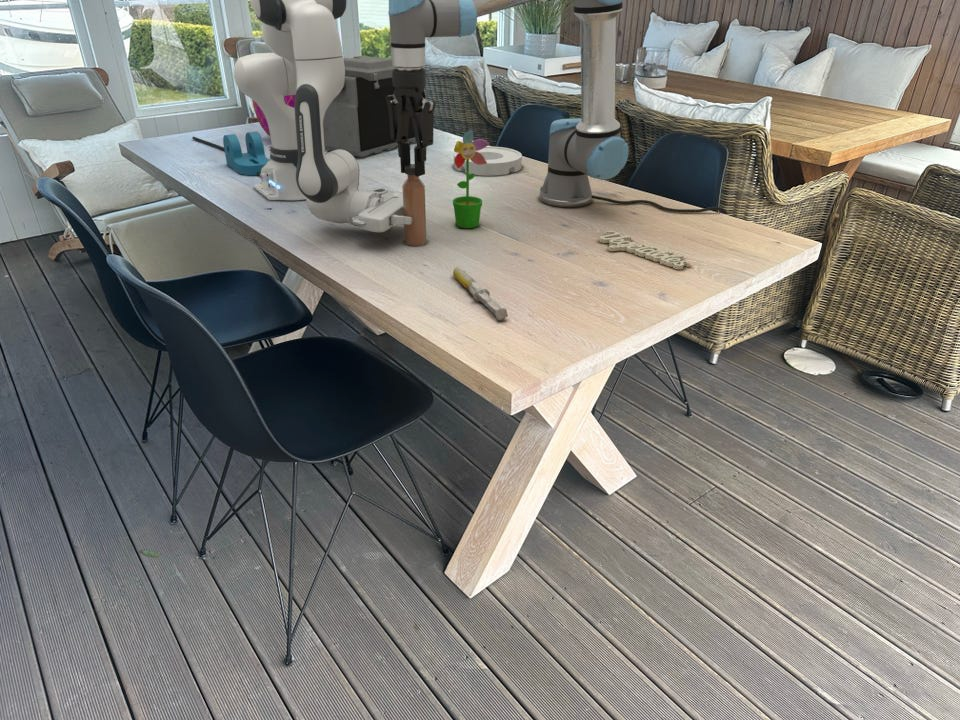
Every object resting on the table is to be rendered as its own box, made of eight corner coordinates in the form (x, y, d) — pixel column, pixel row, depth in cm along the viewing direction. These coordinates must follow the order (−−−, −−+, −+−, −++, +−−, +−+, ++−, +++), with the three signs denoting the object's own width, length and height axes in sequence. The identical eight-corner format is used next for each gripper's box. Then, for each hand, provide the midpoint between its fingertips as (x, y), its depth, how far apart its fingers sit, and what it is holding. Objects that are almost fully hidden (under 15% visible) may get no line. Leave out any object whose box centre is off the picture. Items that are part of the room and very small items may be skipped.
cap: (401, 174, 163) (401, 167, 162) (409, 170, 166) (408, 163, 165) (416, 176, 161) (416, 169, 161) (424, 171, 165) (424, 164, 164)
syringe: (449, 274, 155) (449, 263, 153) (465, 272, 156) (464, 260, 154) (490, 323, 135) (491, 310, 133) (508, 319, 136) (508, 307, 134)
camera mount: (227, 164, 233) (221, 132, 227) (257, 160, 238) (252, 129, 233) (244, 176, 220) (239, 143, 215) (276, 172, 225) (271, 139, 220)
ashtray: (455, 157, 245) (455, 145, 243) (520, 158, 244) (521, 146, 242) (451, 174, 225) (451, 162, 223) (522, 176, 224) (522, 164, 222)
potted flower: (459, 231, 179) (458, 133, 166) (446, 222, 185) (444, 126, 172) (490, 226, 182) (492, 129, 170) (477, 217, 188) (478, 123, 176)
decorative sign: (585, 238, 173) (610, 229, 179) (584, 241, 173) (610, 233, 179) (673, 269, 156) (698, 259, 162) (672, 273, 156) (697, 262, 162)
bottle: (430, 241, 173) (428, 167, 164) (417, 247, 169) (414, 172, 160) (414, 236, 176) (411, 164, 166) (400, 242, 172) (396, 169, 162)
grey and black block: (383, 133, 276) (378, 52, 261) (425, 141, 265) (422, 56, 250) (314, 150, 251) (304, 61, 235) (358, 160, 240) (350, 67, 224)
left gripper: (346, 209, 163) (398, 216, 159) (385, 186, 179) (434, 192, 175) (348, 234, 166) (400, 242, 162) (386, 209, 183) (434, 216, 179)
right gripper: (449, 69, 150) (450, 176, 162) (393, 62, 159) (398, 164, 171) (426, 73, 145) (429, 183, 157) (369, 65, 154) (376, 170, 166)
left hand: (418, 216), depth 169 cm, fingers closed on bottle, 5 cm apart
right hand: (412, 173), depth 164 cm, fingers closed on cap, 4 cm apart
